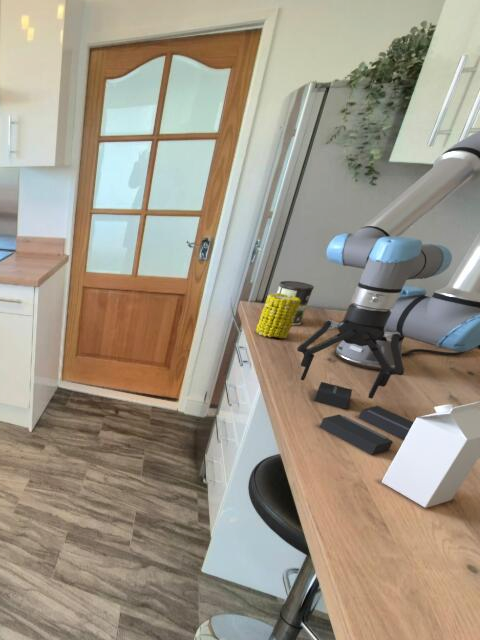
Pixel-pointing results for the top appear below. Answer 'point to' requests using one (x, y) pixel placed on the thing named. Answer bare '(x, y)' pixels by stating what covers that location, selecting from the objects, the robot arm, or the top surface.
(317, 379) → the top surface
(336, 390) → the loose pad
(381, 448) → the pad row
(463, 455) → the milk carton
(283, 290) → the coffee can
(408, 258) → the robot arm
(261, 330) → the food
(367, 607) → the top surface
